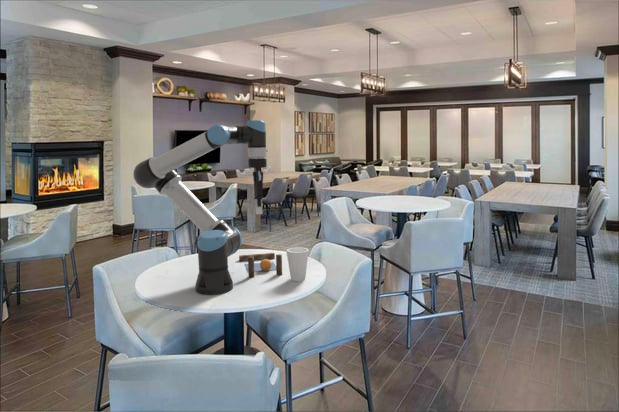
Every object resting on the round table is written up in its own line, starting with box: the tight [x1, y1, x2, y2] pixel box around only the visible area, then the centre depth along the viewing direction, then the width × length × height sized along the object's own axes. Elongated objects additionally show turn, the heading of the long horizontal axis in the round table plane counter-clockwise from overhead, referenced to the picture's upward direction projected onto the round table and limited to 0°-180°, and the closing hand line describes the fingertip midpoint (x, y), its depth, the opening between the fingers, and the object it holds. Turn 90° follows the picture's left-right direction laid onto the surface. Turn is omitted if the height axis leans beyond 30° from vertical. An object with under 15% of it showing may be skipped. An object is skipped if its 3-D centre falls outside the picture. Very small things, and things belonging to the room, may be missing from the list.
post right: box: [275, 253, 283, 276], centre depth 202 cm, size 3×3×9 cm
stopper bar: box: [238, 252, 276, 262], centre depth 229 cm, size 18×2×2 cm, turn 104°
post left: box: [247, 256, 255, 279], centre depth 199 cm, size 3×3×9 cm
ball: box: [259, 259, 272, 272], centre depth 209 cm, size 6×6×6 cm
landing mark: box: [244, 261, 276, 273], centre depth 215 cm, size 14×14×1 cm
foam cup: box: [286, 247, 309, 282], centre depth 195 cm, size 10×9×13 cm
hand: (259, 213), depth 190 cm, fingers closed
